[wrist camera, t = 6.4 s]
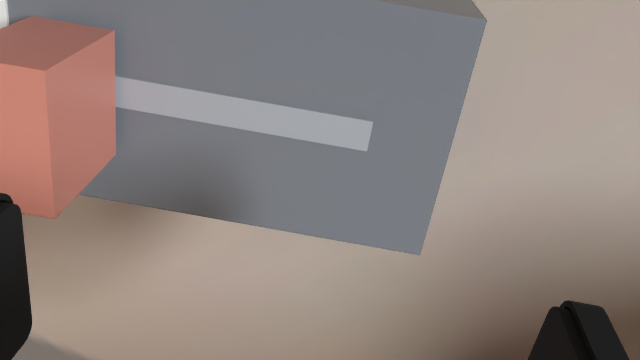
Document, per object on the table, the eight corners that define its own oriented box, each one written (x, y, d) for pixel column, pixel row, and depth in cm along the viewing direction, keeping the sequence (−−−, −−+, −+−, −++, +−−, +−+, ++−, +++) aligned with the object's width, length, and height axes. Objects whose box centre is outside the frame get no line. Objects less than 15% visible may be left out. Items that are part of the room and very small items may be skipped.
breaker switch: (114, 30, 17) (45, 70, 13) (116, 154, 19) (54, 219, 15) (32, 15, 17) (-59, 52, 13) (42, 141, 19) (-36, 203, 15)
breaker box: (467, -6, 20) (487, 21, 16) (413, 198, 23) (420, 257, 20) (1, -88, 20) (-83, -80, 16) (21, 128, 24) (-44, 173, 20)
